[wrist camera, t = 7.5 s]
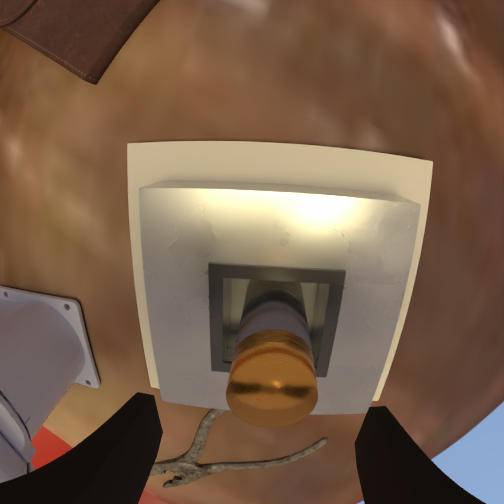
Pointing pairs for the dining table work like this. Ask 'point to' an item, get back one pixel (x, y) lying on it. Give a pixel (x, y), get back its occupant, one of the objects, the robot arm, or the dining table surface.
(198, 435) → the pliers
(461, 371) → the dining table surface
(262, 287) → the orange topped can
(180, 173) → the stand base
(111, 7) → the notebook
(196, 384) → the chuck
